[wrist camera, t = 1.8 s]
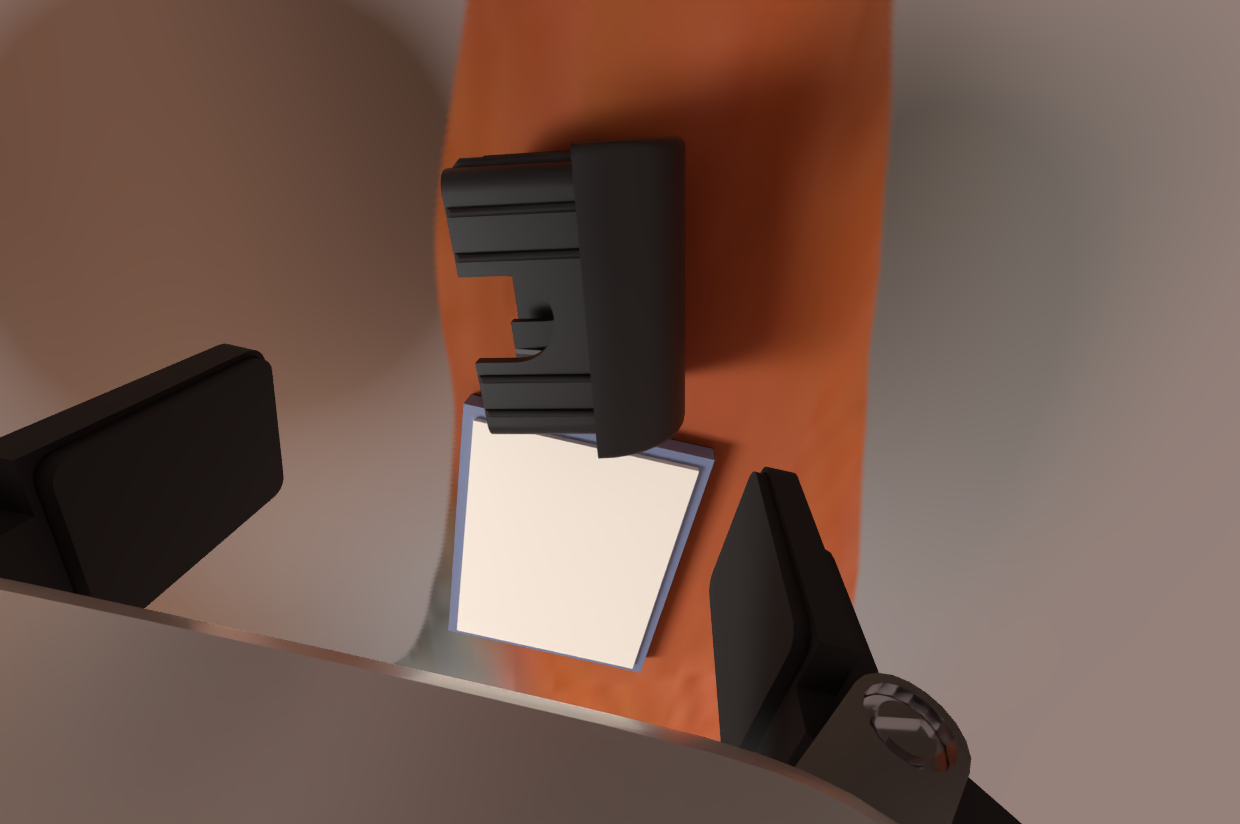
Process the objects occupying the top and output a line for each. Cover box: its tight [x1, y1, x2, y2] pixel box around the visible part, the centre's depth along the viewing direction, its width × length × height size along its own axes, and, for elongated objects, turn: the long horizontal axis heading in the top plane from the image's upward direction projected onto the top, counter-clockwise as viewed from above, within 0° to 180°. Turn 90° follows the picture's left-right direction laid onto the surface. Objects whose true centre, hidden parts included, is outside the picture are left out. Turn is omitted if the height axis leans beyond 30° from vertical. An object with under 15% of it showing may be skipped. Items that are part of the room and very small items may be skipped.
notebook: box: [448, 394, 715, 672], centre depth 29 cm, size 16×12×1 cm
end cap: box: [441, 136, 685, 459], centre depth 19 cm, size 10×7×7 cm
